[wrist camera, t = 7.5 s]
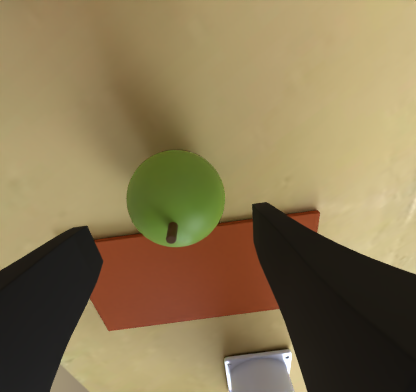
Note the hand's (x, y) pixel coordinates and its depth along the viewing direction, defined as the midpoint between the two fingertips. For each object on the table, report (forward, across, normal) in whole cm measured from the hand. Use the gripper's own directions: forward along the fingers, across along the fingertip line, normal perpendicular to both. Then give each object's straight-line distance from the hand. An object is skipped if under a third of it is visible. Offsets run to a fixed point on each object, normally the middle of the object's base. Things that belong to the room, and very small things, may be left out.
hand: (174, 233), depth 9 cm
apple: (+6, 0, 0) cm, 6 cm away
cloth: (+6, 0, +9) cm, 11 cm away
